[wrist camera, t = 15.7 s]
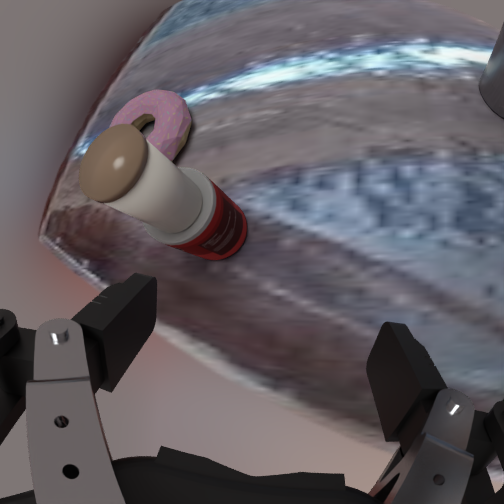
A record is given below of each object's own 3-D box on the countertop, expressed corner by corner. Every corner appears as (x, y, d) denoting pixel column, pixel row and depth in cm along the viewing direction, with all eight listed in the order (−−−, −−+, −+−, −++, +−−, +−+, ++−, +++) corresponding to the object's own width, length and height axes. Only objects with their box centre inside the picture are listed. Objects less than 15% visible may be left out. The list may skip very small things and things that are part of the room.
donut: (160, 198, 42) (140, 186, 37) (103, 167, 47) (83, 156, 42) (215, 110, 42) (201, 91, 37) (150, 93, 47) (135, 78, 42)
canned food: (187, 210, 40) (138, 181, 29) (243, 194, 38) (208, 155, 28) (193, 267, 38) (142, 252, 28) (254, 253, 36) (219, 232, 26)
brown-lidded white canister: (159, 174, 29) (96, 126, 19) (210, 179, 27) (153, 121, 18) (143, 229, 28) (69, 196, 18) (193, 239, 26) (124, 203, 17)
